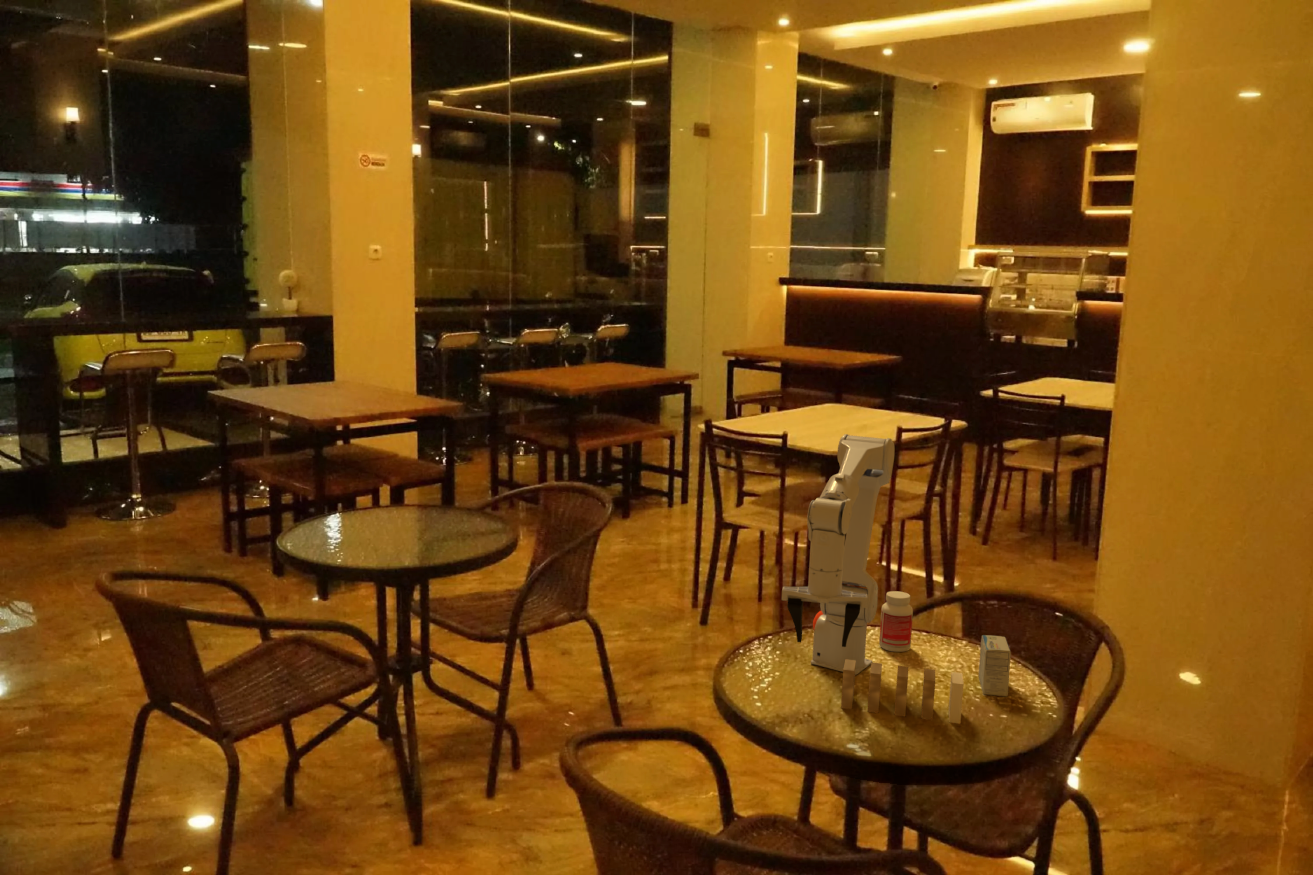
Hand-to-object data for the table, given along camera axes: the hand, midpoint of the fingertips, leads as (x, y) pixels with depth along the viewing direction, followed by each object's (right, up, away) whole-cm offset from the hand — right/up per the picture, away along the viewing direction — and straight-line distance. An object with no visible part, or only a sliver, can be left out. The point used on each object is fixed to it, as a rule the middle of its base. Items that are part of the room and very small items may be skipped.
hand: (821, 642), depth 181 cm
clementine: (+6, -6, +30) cm, 32 cm away
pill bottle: (+19, -7, +28) cm, 34 cm away
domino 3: (+13, -11, -2) cm, 18 cm away
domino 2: (+9, -11, -1) cm, 14 cm away
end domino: (+22, -12, -4) cm, 25 cm away
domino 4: (+18, -12, -3) cm, 21 cm away
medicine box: (+33, -10, +9) cm, 35 cm away
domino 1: (+5, -11, +1) cm, 12 cm away
